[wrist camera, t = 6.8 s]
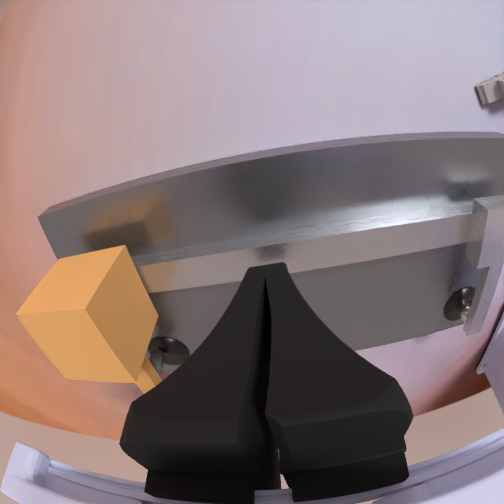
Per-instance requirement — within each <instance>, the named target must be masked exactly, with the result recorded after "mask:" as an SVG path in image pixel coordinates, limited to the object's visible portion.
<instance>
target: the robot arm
mask: <svg viewBox="0 0 504 504" xmlns="http://www.w3.org/2000/svg"><path fill="white" fill-rule="evenodd" d="M476 373H477V374H481V373H485V375H486V377H487V379H488V381H489V383H490V385H491V387H492V389H493V391H494V393H495V396H496V398H497V400H498V402H499V405H500V407H501V409H502V411H503V414H504V312H503V314H502V316H501V319H500V321H499V324H498V326H497V328H496V330H495V333H494V335H493V337H492V339H491V341H490V344H489V346H488V348H487V350H486V352H485V354H484V356H483V358H482V360H481V362H480V364H479V365H478V367H477V369H476ZM412 419H413V413H412V409H411V406H410V404H409V402H408V400H407V398H406V396H405V394H404V392H403V390H402V388H401V387H400V385H399V384H398V382H397V380H396V379H395V378H393V377H392V376H390V375H388V374H387V373H385V372H383V371H382V370H380V369H379V368H377V367H375V366H374V365H372V364H371V363H370V362H368V361H367V360H365V359H364V358H363V357H361V356H360V355H359V354H357V353H356V352H355V351H354V350H352V349H351V348H350V347H349V346H348V345H347V344H345V343H344V342H343V341H342V340H341V339H339V338H338V337H337V336H336V335H335V334H334V333H333V332H332V331H331V330H330V329H329V328H328V327H327V326H326V325H325V324H324V323H323V322H322V320H321V319H320V318H319V317H318V316H317V315H316V313H315V312H314V311H313V310H312V308H311V307H310V306H309V305H308V303H307V302H306V300H305V299H304V298H303V296H302V295H301V293H300V292H299V290H298V288H297V287H296V285H295V283H294V282H293V280H292V278H291V276H290V274H289V271H288V269H287V264H285V263H284V262H280V263H273V264H267V265H260V266H254V267H249V268H248V269H247V271H246V273H245V276H244V278H243V280H242V282H241V284H240V286H239V288H238V290H237V292H236V294H235V295H234V297H233V299H232V301H231V302H230V304H229V306H228V308H227V309H226V311H225V312H224V314H223V315H222V317H221V318H220V320H219V321H218V323H217V324H216V326H215V327H214V328H213V330H212V331H211V332H210V334H209V335H208V336H207V337H206V339H205V340H204V341H203V342H202V344H201V345H200V346H199V347H198V348H197V349H196V350H195V351H194V352H193V353H192V354H191V355H190V357H189V358H188V359H187V360H186V361H185V362H184V363H183V364H182V365H180V366H179V367H178V368H177V369H176V370H175V371H174V372H173V373H171V374H170V375H169V376H168V377H167V378H165V379H164V380H163V381H162V382H160V383H159V384H158V385H156V386H155V387H154V388H152V389H151V390H149V391H148V392H146V393H145V394H143V395H142V396H141V397H139V398H138V399H136V400H135V401H133V402H132V403H131V406H130V408H129V411H128V414H127V417H126V421H125V424H124V428H123V432H122V435H121V439H120V443H119V444H120V446H121V448H122V450H123V451H124V452H125V453H126V454H127V455H128V456H130V457H131V458H132V459H134V460H135V461H136V462H138V463H139V464H141V465H142V466H144V467H145V468H146V469H148V473H147V479H146V483H142V482H136V481H131V480H125V479H121V478H116V477H111V476H107V475H103V474H99V473H95V472H91V471H87V470H84V469H80V468H77V467H74V466H70V465H67V464H64V463H61V462H58V461H55V460H52V459H50V458H49V457H48V456H47V455H45V454H44V453H42V452H41V451H39V450H37V449H35V448H33V447H31V446H28V445H26V444H24V443H21V442H16V444H15V447H14V450H13V452H12V455H11V458H10V460H9V463H8V466H7V469H6V472H5V475H4V478H3V481H2V485H1V488H0V490H1V491H2V492H3V493H4V494H6V495H8V496H9V497H11V498H12V499H14V500H16V501H17V502H19V503H21V504H356V503H361V502H366V501H370V500H374V499H379V498H382V497H385V498H382V499H379V500H376V501H374V502H373V503H372V504H504V428H502V429H500V430H498V431H496V432H494V433H492V434H490V435H488V436H486V437H484V438H482V439H480V440H477V441H475V442H473V443H470V444H468V445H466V446H464V447H461V448H459V449H456V450H454V451H451V452H449V453H446V454H443V455H441V456H438V457H435V458H432V459H430V460H426V461H424V462H420V463H417V464H414V465H411V466H407V462H406V458H405V453H404V452H405V451H406V444H405V440H404V435H405V433H406V432H407V430H408V428H409V426H410V424H411V422H412ZM278 449H279V452H278ZM280 474H283V476H284V478H285V480H286V483H287V485H288V487H289V489H281V480H280ZM387 496H388V497H387Z"/></svg>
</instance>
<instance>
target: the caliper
mask: <svg viewBox="0 0 504 504" xmlns="http://www.w3.org/2000/svg"><path fill="white" fill-rule="evenodd" d="M476 89H477V91H478V94H479V97H480V100H481V103H482V104H486V103H492V102H494V101H497V100H499V99H502V98H504V72H502V73H500V74H498V75H496V76H494V77H492V78H491V80H488V81H485V82H482V83H480V84H478V85H476Z"/></svg>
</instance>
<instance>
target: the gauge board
mask: <svg viewBox="0 0 504 504" xmlns="http://www.w3.org/2000/svg"><path fill="white" fill-rule="evenodd" d="M38 219H39V222H40V224H41V226H42V228H43V230H44V233H45V235H46V237H47V239H48V241H49V243H50V245H51V247H52V249H53V251H54V253H55V255H56V257H57V259H58V260H59V259H61V258H65V257H70V256H75V255H79V254H84V253H89V252H93V251H98V250H103V249H108V248H113V247H117V246H122V245H126V248H127V250H128V252H129V254H130V257H131V259H132V261H133V263H134V266H135V268H136V270H137V272H138V274H139V276H140V279H141V281H142V283H143V285H144V287H145V289H146V291H147V293H148V295H149V297H150V299H151V301H152V303H153V305H154V307H155V309H156V311H157V313H158V315H159V316H158V319H157V322H156V324H155V327H154V330H153V333H152V336H151V339H150V342H149V345H148V348H147V351H146V354H145V355H146V356H147V358H148V359H149V358H150V355H151V352H153V351H159V352H161V353H163V354H164V355H165V360H164V364H163V368H162V371H175V370H176V369H177V368H178V367H179V366H180V365H182V364H183V363H184V362H185V361H186V360H187V359H188V358H189V357H190V355H191V354H192V353H193V352H194V351H195V350H196V349H197V348H198V347H199V346H200V345H201V344H202V342H203V341H204V340H205V339H206V337H207V336H208V335H209V334H210V332H211V331H212V330H213V328H214V327H215V326H216V324H217V323H218V321H219V320H220V318H221V317H222V315H223V314H224V312H225V311H226V309H227V308H228V306H229V304H230V302H231V301H232V299H233V297H234V295H235V294H236V292H237V290H238V288H239V286H240V284H241V282H242V280H243V278H244V276H245V273H246V271H247V269H248V268H249V267H254V266H260V265H267V264H273V263H280V262H284V263H285V264H287V269H288V271H289V274H290V276H291V278H292V280H293V282H294V283H295V285H296V287H297V288H298V290H299V292H300V293H301V295H302V296H303V298H304V299H305V300H306V302H307V303H308V305H309V306H310V307H311V308H312V310H313V311H314V312H315V313H316V315H317V316H318V317H319V318H320V319H321V320H322V322H323V323H324V324H325V325H326V326H327V327H328V328H329V329H330V330H331V331H332V332H333V333H334V334H335V335H336V336H337V337H338V338H339V339H341V340H342V341H343V342H344V343H345V344H347V345H348V346H349V347H350V348H351V349H352V350H354V351H357V350H362V349H367V348H372V347H377V346H381V345H386V344H390V343H394V342H399V341H403V340H407V339H411V338H415V337H419V336H423V335H427V334H430V333H434V332H437V331H441V330H445V329H448V328H451V327H455V326H458V325H461V324H465V325H464V327H463V329H464V331H465V333H466V335H467V336H468V335H471V334H474V333H477V332H480V330H481V328H482V325H483V323H484V320H485V317H486V315H487V312H488V309H489V307H490V304H491V301H492V298H493V295H494V292H495V289H496V286H497V283H498V280H499V276H500V273H501V270H502V266H503V263H504V134H501V133H497V132H435V133H412V134H395V135H382V136H370V137H359V138H350V139H340V140H332V141H324V142H316V143H309V144H302V145H295V146H289V147H282V148H276V149H270V150H264V151H259V152H253V153H248V154H243V155H237V156H232V157H227V158H222V159H218V160H213V161H208V162H204V163H199V164H195V165H191V166H186V167H182V168H178V169H174V170H170V171H166V172H162V173H158V174H154V175H151V176H147V177H143V178H140V179H136V180H132V181H129V182H125V183H122V184H119V185H115V186H112V187H109V188H105V189H102V190H99V191H96V192H93V193H89V194H86V195H83V196H80V197H77V198H74V199H71V200H68V201H66V202H63V203H60V204H57V205H54V206H51V207H49V208H48V209H47V210H45V211H44V212H43V213H42V214H41V215H40V216H38Z"/></svg>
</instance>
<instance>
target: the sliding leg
mask: <svg viewBox="0 0 504 504" xmlns="http://www.w3.org/2000/svg"><path fill="white" fill-rule="evenodd" d="M16 315H17V317H18V318H19V320H20V321H21V322H22V324H23V325H24V327H25V328H26V329H27V331H28V332H29V334H30V335H31V336H32V338H33V339H34V340H35V342H36V343H37V344H38V345H39V347H40V348H41V349H42V351H43V352H44V353H45V354H46V356H47V357H48V358H49V359H50V360H51V362H52V363H53V364H54V365H55V366H56V368H57V369H58V370H59V371H60V372H61V373H62V375H63V376H64V377H65V378H66V379H74V380H86V381H101V382H122V383H135V384H136V385H137V386H138V388H139V389H140V390H141V391H142V392H143V394H145V393H146V392H148V391H149V390H151V389H152V388H154V387H155V386H156V385H158V384H159V383H160V382H162V381H163V380H162V379H161V377H160V375H161V372H162V368H163V364H164V360H165V355H164V354H163V353H161V352H159V351H153V352H151V355H150V358H149V359H148V358H147V356H146V355H145V354H146V351H147V348H148V345H149V342H150V339H151V336H152V333H153V330H154V327H155V324H156V322H157V319H158V316H159V315H158V313H157V311H156V309H155V307H154V305H153V303H152V301H151V299H150V297H149V295H148V293H147V291H146V289H145V287H144V285H143V283H142V281H141V279H140V276H139V274H138V272H137V270H136V268H135V266H134V263H133V261H132V259H131V257H130V254H129V252H128V250H127V248H126V245H122V246H117V247H113V248H108V249H103V250H98V251H93V252H89V253H84V254H79V255H75V256H70V257H65V258H61V259H59V260H58V261H57V262H56V263H55V264H54V266H53V267H52V268H51V269H50V270H49V272H48V273H47V274H46V275H45V277H44V278H43V279H42V280H41V282H40V283H39V284H38V285H37V287H36V288H35V289H34V291H33V292H32V293H31V294H30V296H29V297H28V298H27V300H26V301H25V302H24V304H23V305H22V306H21V308H20V309H19V311H18V312H17V313H16Z"/></svg>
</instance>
